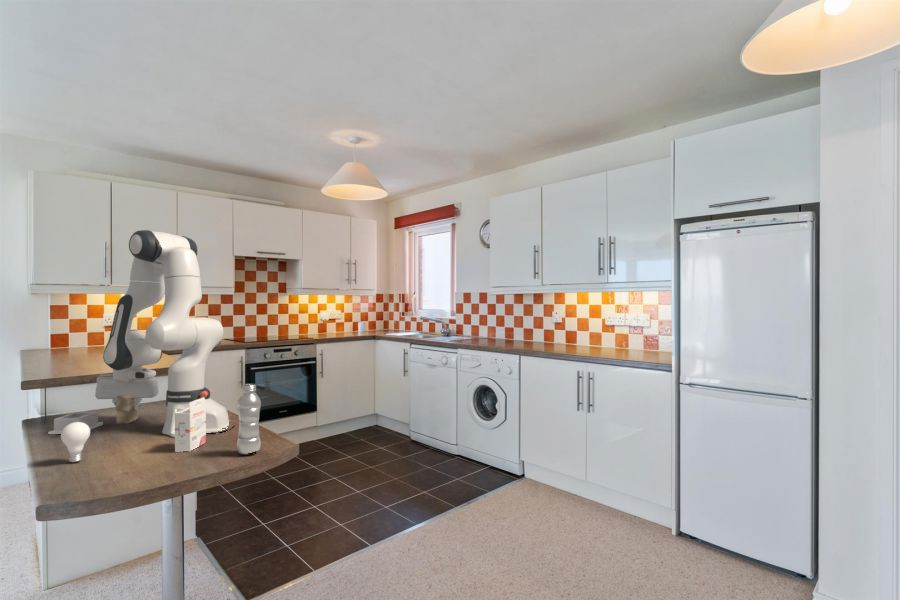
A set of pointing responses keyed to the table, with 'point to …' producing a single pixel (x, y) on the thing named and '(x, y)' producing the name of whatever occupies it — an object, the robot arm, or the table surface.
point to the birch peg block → (125, 409)
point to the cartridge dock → (84, 417)
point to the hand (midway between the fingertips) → (127, 410)
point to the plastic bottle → (248, 420)
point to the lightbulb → (75, 439)
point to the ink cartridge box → (190, 426)
